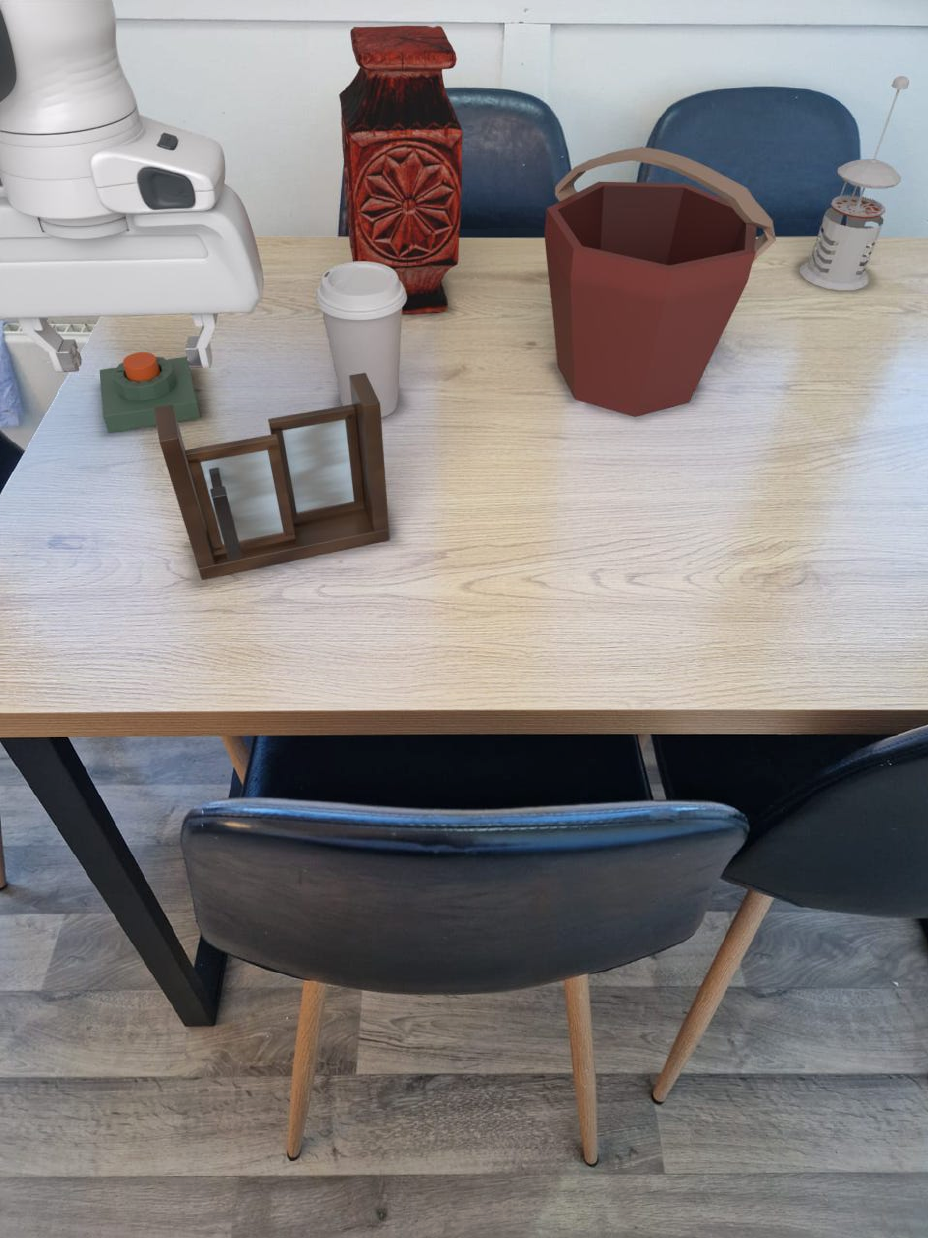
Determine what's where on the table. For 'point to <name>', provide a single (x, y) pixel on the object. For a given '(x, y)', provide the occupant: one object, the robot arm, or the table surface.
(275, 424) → the window frame
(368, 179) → the vase
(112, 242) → the robot arm
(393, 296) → the coffee cup
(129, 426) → the button block
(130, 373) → the button
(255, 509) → the sliding window sash
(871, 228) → the french press
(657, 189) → the bucket
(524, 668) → the table surface
